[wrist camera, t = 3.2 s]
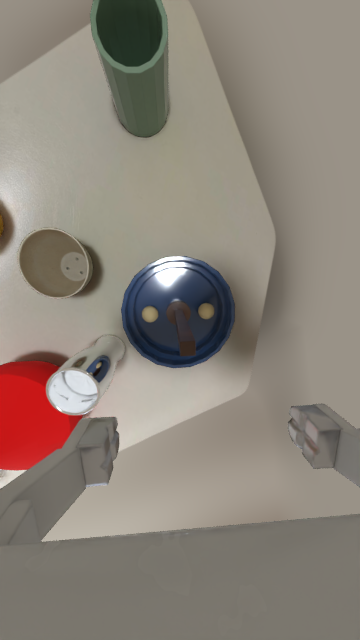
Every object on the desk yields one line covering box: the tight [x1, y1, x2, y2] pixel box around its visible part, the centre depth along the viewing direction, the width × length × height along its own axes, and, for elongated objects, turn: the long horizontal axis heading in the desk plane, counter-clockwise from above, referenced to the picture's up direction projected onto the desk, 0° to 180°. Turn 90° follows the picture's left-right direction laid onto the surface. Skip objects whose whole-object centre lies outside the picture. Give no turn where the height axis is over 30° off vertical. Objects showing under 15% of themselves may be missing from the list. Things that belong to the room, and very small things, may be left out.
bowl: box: [121, 256, 235, 368], centre depth 35 cm, size 19×19×5 cm
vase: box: [0, 361, 83, 470], centre depth 30 cm, size 18×18×19 cm
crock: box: [90, 0, 168, 137], centre depth 26 cm, size 8×8×10 cm
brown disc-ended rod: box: [166, 300, 196, 356], centre depth 27 cm, size 4×4×20 cm
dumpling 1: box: [142, 306, 158, 322], centre depth 35 cm, size 3×3×3 cm
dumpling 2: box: [198, 303, 214, 319], centre depth 36 cm, size 3×3×3 cm
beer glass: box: [46, 335, 125, 415], centre depth 31 cm, size 7×7×15 cm
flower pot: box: [18, 227, 93, 299], centre depth 31 cm, size 10×10×7 cm
